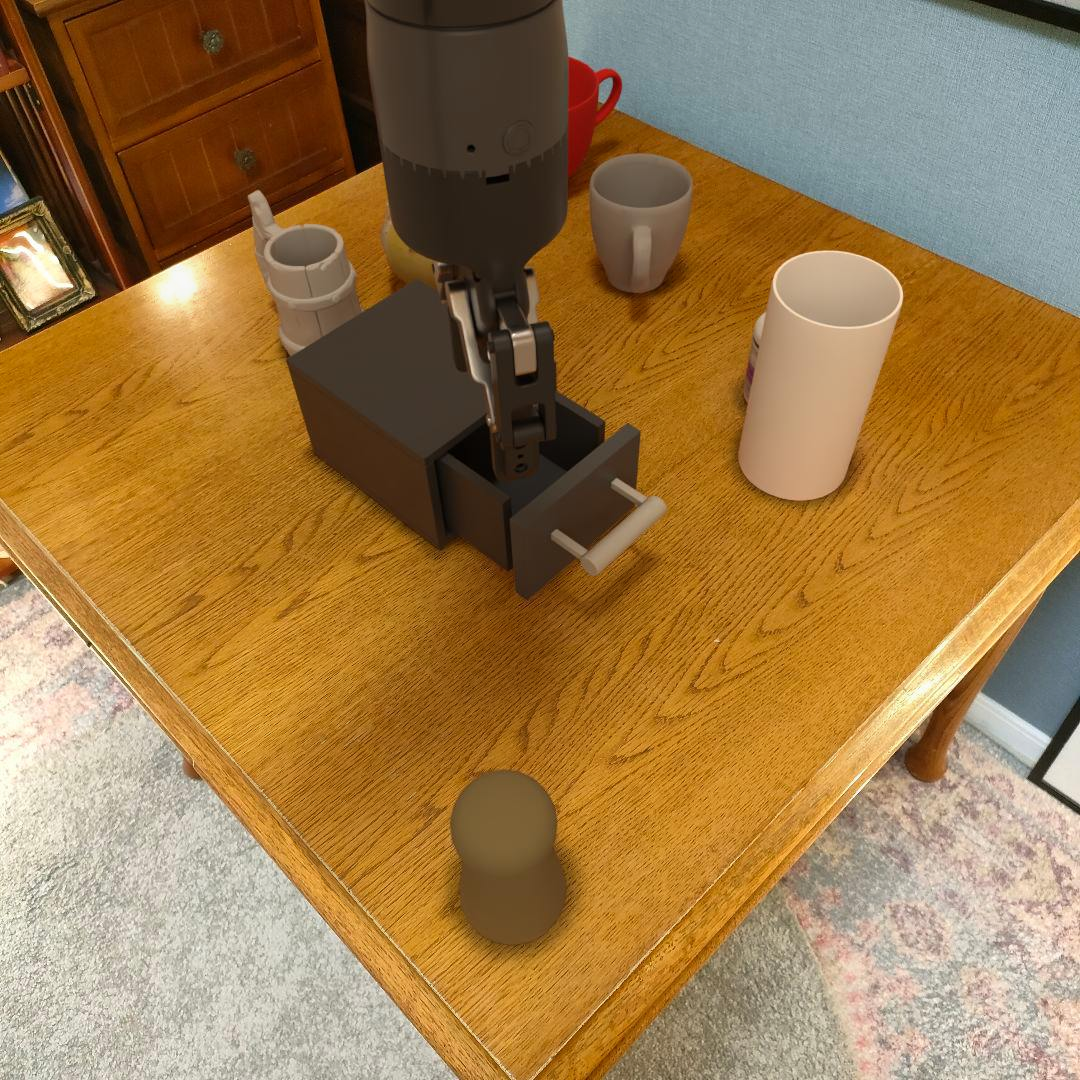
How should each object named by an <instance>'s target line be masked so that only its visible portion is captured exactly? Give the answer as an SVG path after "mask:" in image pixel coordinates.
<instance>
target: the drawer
mask: <svg viewBox="0 0 1080 1080" xmlns="http://www.w3.org/2000/svg"><path fill="white" fill-rule="evenodd" d="M555 408H556V424H557V430H556V439H552V440H548V441H540V442H539V470H538V472H537V473H536V474H534V475H532V476H529V477H525V478H520V479H516V480H511V481H507V482H500V481H498V480H497V478H496V475H495V473H494V470H493V465H492V453H491V440H490V428H489V426H488V425H487V422H486V423H484V424H483V425H482V426H480V427H479V428H478V429H476V430H475V431H474V432H472V433H471V434H470V435H468V436H467V437H465V438H464V439H463V440H461V441H460V442H459V443H457V444H456V445H455V446H453V447H452V448H451V449H449V450H448V451H447V452H445V453H444V454H442V455H441V456H440V457H438V458H437V459H436V460H434V464H435V470H436V476H437V482H438V489H439V495H440V501H441V507H442V513H443V519H444V524H445V525H446V526H447V527H448V528H450V529H451V530H452V531H454V532H455V533H456V534H458V535H459V536H458V537H460V538H461V539H463V540H464V541H466V542H467V543H468V544H470V545H471V546H472V547H474V548H475V549H476V550H477V551H479V552H480V553H482V554H483V555H484V556H485V557H487V558H488V559H489V560H491V561H492V562H493V563H495V564H496V565H498V566H499V567H500V568H502V569H503V570H504V571H505V572H507V573H510V571H512V570H513V580H514V581H513V582H514V592H515V593H516V594H517V595H519V597H521V598H522V599H524V600H525V601H527V602H528V601H530V600H531V599H532V598H533V597H534V596H535V595H536V594H537V593H539V592H540V591H541V590H542V589H544V588H545V586H547V585H548V584H549V583H550V582H551V581H552V580H554V578H556V577H557V576H558V575H559V574H560V573H561V572H562V571H564V570H565V569H566V568H567V567H568V566H569V565H571V563H573V562H574V561H575V560H576V559H578V560H579V561H580V565H581V567H582V568H583V570H584V571H585V572H586V573H587V574H588V575H590V576H592V577H597V576H598V575H599V574H600V573H602V572H603V571H604V570H606V568H607V567H608V566H609V565H611V563H613V562H614V561H615V560H616V559H617V558H618V557H619V556H620V555H621V554H623V553H624V552H625V551H627V549H628V548H629V547H631V545H633V544H634V543H635V542H636V541H637V540H638V539H639V538H641V536H643V535H644V533H646V532H648V530H649V529H650V528H651V527H652V526H653V525H655V524H656V523H657V522H658V521H660V519H661V518H662V517H664V516H665V515H666V514H667V512H668V508H667V505H666V503H665V501H664V500H663V499H662V498H660V497H659V496H658V495H651V496H649V497H648V496H645V495H644V494H642V493H641V492H640V491H638V490H637V484H638V473H639V460H640V446H641V434H642V431H641V430H640V429H638V428H637V427H635V426H633V425H632V424H631V423H629V422H627V423H625V424H624V425H622V427H620V428H619V429H618V430H617V431H615V432H614V433H613V434H612V435H610V437H608V438H607V439H606V420H605V419H604V418H601V417H600V416H599V415H596V414H595V413H594V412H592V411H590V410H589V409H587V408H585V407H583V406H582V405H581V404H579V403H577V402H576V401H574V400H572V399H571V398H569V397H568V396H566V395H564V394H562V393H561V392H559V391H558V390H557V391H556V390H555ZM635 506H637V508H636V509H634V508H635ZM633 509H634V511H632V510H633ZM630 511H632V512H631V513H630ZM629 513H630V514H629ZM627 514H629V515H628V516H627V517H626V518H624V517H625V516H626V515H627ZM623 518H624V519H623ZM622 519H623V520H622ZM620 520H622V521H620ZM619 521H620V523H619V524H618V525H616V524H617V523H618V522H619ZM615 525H616V526H615ZM613 526H615V527H614V528H613V529H612V527H613ZM610 529H612V530H611V531H609V530H610ZM608 531H609V533H607V532H608ZM606 533H607V534H606ZM605 534H606V536H604V537H603V538H602V539H601V540H600V541H598V540H599V539H600V538H601V537H602V536H603V535H605ZM596 541H598V542H597V543H596ZM594 543H596V544H595V545H594V546H593V547H592V548H591V549H590V550H588V549H589V548H590V547H591V546H592V545H593V544H594Z"/></svg>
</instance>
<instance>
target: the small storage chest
mask: <svg viewBox="0 0 1080 1080" xmlns="http://www.w3.org/2000/svg"><path fill="white" fill-rule="evenodd" d="M448 311H449V310H446V309H445V306H444V304H442V302H441V300H440V297H439V293H438V291H437V290H435V289H434V288H432V287H430V286H429V285H427V284H425V283H424V282H422V281H420V280H419V279H415V280H414V281H412V282H411V283H409V284H405V285H404V286H402V287H401V288H399V289H397V290H396V291H394V292H392V293H390V294H389V295H388V296H386V297H385V298H383V299H381V300H379V301H378V302H377V303H375V304H374V305H372V306H370V307H368V308H367V309H364V312H362V313H360V314H359V315H357V316H355V317H354V318H352V319H351V320H349V321H347V322H346V323H344V324H342V325H341V326H339V327H338V328H336V329H334V330H333V331H331V332H329V333H328V334H326V335H325V336H323V337H321V338H320V339H318V340H317V341H315V342H313V343H312V344H310V345H308V346H307V347H305V348H304V349H302V350H300V351H299V352H297V353H295V354H294V355H292V356H289V357H287V358H286V359H285V361H286V366H287V368H288V371H289V374H290V378H291V383H292V385H293V389H294V391H295V395H296V398H297V401H298V405H299V408H300V411H301V415H302V418H303V420H304V425H305V428H306V431H307V436H308V439H309V441H310V445H311V447H312V451H313V454H314V455H315V456H316V457H318V458H319V459H321V460H322V461H323V462H325V463H326V465H328V466H330V467H331V468H332V469H333V470H335V471H336V472H338V473H339V474H340V475H342V476H343V477H344V478H345V479H347V480H348V481H349V482H350V483H352V484H353V485H354V486H356V487H357V488H358V489H359V490H360V491H362V492H364V493H365V494H366V495H367V496H369V498H371V499H372V500H374V501H375V502H376V503H378V504H379V506H381V507H383V508H384V509H385V510H387V511H388V512H389V513H391V514H392V515H393V516H395V518H397V519H398V520H399V521H401V522H402V523H403V524H404V525H406V526H407V527H409V528H410V529H411V530H413V531H414V532H415V533H416V534H417V535H419V536H420V537H422V538H423V539H424V540H425V541H426V542H428V543H429V544H430V545H432V546H433V547H434V548H435V549H437V550H438V551H441V550H442V549H443V550H444V548H445V547H446V546H448V545H449V544H450V543H452V542H453V541H454V540H455V539H456V538H458V537H460V536H459V535H458V534H456V533H455V532H454V531H452V530H451V529H450V528H448V527H447V526H446V525H445V524H444V519H443V513H442V507H441V501H440V495H439V489H438V482H437V476H436V470H435V464H434V460H436V459H437V458H438V457H440V456H441V455H442V454H444V453H445V452H447V451H448V450H449V449H451V448H452V447H453V446H455V445H456V444H457V443H459V442H460V441H461V440H463V439H464V438H465V437H467V436H468V435H470V434H471V433H472V432H474V431H475V430H476V429H478V428H479V427H480V426H482V425H483V424H484V423H486V415H487V411H486V406H485V401H484V396H483V391H482V386H481V384H480V383H478V382H476V381H473V380H472V379H471V378H470V377H469V375H468V372H460V371H458V370H457V368H456V366H455V363H454V360H453V353H452V344H451V335H450V326H449V317H448ZM557 372H558V371H557V361H556V360H554V373H555V390H556V391H558V381H557V380H558V379H557V378H558V377H557V376H558V375H557V374H558V373H557Z"/></svg>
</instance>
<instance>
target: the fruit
mask: <svg viewBox="0 0 1080 1080" xmlns="http://www.w3.org/2000/svg"><path fill="white" fill-rule="evenodd" d="M383 215H384V216H383V220H382V222H381V227H380V230H379V233H380V242H381V245H382V248H383V250H384V253H385V257H386V261H387V264H388V266H389V268H390V269H391V270H392V272H393V273H394V274H395V276H397V278H399V280H400V281H402V282H403V283H404V284H405V285H407V284H409V283H411V282H412V281H414V280H415V279H419V280H420V281H422V282H424V283H425V284H427V285H429V286H430V287H432V288H434V289H435V290H437V291H438V289H437V285H436V281H435V277H434V274H433V271H432V265H431V264H433V260H431V259H428V258H426V257H424V256H422V255H420V254H418V253H416V252H415V251H413V250H412V249H410V248H409V247H408V246H407V245H406V244H405V243H404V242H403V241H402V240H401V239H400V238H399V236H398V235H397V233H396V231H395V229H394V227H393V224H392V221H391V215H390V208H389V202H388V201H386V202H385V209H384V214H383Z"/></svg>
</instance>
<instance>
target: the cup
mask: <svg viewBox="0 0 1080 1080" xmlns="http://www.w3.org/2000/svg"><path fill="white" fill-rule="evenodd" d="M903 291H904V290H903V287H902V285H901V283H900V281H899V280H898V278H897V277H896V276H895V275H894V274H893V272H891V271H890V270H889V269H888V268H887V267H886V266H884V265H882V264H881V263H879V262H877V261H875V260H873V259H871V258H868V257H866V256H863V255H860V254H856V253H853V252H847V251H842V250H814V251H809V252H808V251H807V252H805V253H800V254H798V255H796V256H793V257H791V258H789V259H787V260H786V261H784V262H783V263H782V264H781V265H779V267H778V268H777V269H776V271H775V273H774V275H773V279H772V281H771V285H770V291H769V295H768V300H767V304H768V305H767V304H766V307H767V310H766V309H765V312H766V315H765V320H764V325H763V330H762V335H761V340H760V345H759V350H758V355H757V360H756V365H755V371H754V376H753V381H752V386H751V391H750V396H749V401H748V403H747V405H746V406H747V407H746V411H745V415H744V416H745V417H744V422H743V427H742V432H741V436H740V437H741V438H740V442H739V447H738V453H737V458H738V459H737V460H738V465H739V467H740V470H741V472H742V473H743V475H744V476H745V477H746V479H747V480H748V481H749V482H750V483H751V484H752V485H753V486H754V487H756V488H757V489H758V490H760V491H762V492H764V493H766V494H768V495H770V496H772V497H776V498H779V499H783V500H788V501H798V502H799V501H811V500H816V499H817V500H818V499H820V498H823V497H825V496H828V495H829V494H831V493H833V492H834V491H836V490H837V489H838V488H839V487H840V486H841V485H842V483H843V482H844V480H845V478H846V476H847V472H848V469H849V466H850V463H851V460H852V458H853V454H854V452H855V448H856V445H857V442H858V439H859V436H860V433H861V430H862V427H863V424H864V421H865V418H866V415H867V412H868V409H869V406H870V404H871V400H872V397H873V394H874V390H875V388H876V385H877V382H878V379H879V376H880V373H881V370H882V367H883V364H884V361H885V358H886V355H887V352H888V349H889V346H890V344H891V340H892V337H893V334H894V331H895V327H896V325H897V322H898V319H899V316H900V313H901V310H902V306H903V301H904V292H903Z"/></svg>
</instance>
